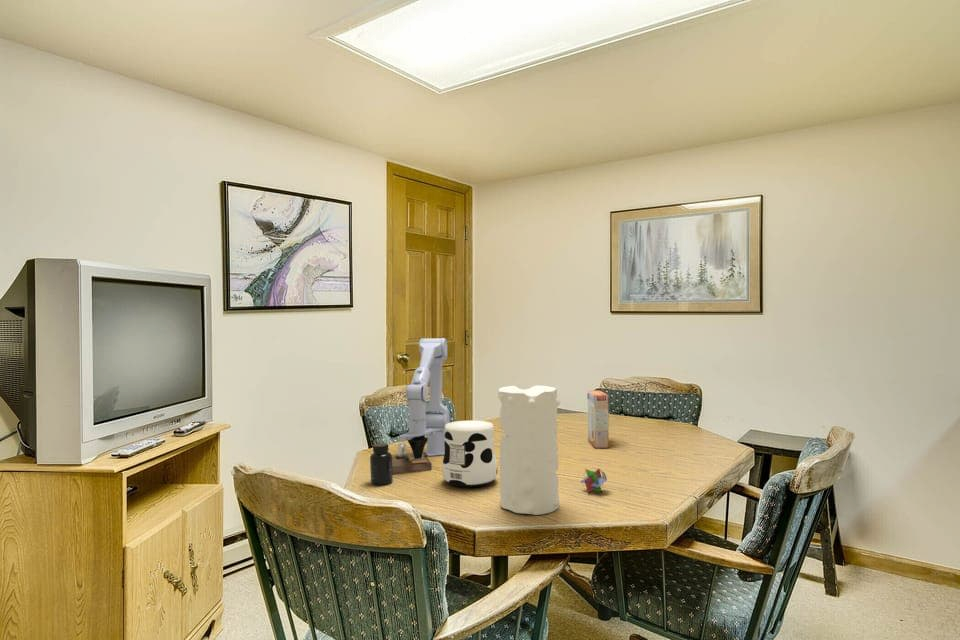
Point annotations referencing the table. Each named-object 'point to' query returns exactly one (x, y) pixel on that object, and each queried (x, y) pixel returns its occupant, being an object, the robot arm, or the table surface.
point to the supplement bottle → (381, 465)
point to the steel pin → (401, 451)
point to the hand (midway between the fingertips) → (417, 458)
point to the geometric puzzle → (594, 480)
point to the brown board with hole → (409, 464)
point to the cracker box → (598, 419)
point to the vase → (529, 449)
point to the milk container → (469, 453)
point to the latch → (418, 460)
